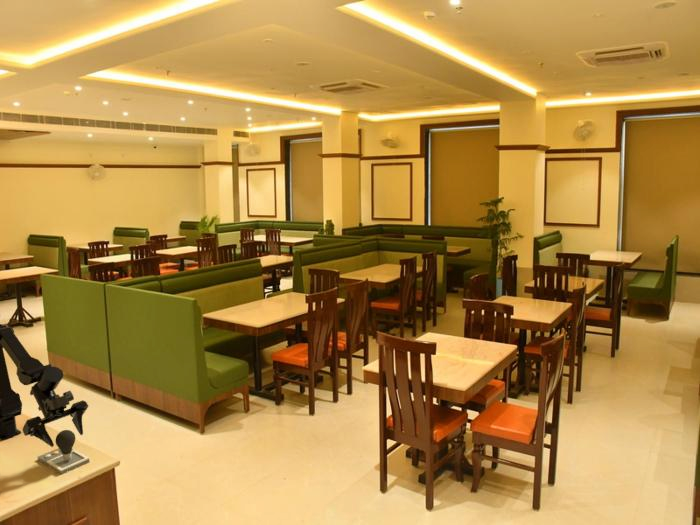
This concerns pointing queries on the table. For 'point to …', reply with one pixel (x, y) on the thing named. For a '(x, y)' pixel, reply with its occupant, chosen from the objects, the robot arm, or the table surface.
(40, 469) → the table surface
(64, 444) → the light bulb
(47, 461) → the indicator board
